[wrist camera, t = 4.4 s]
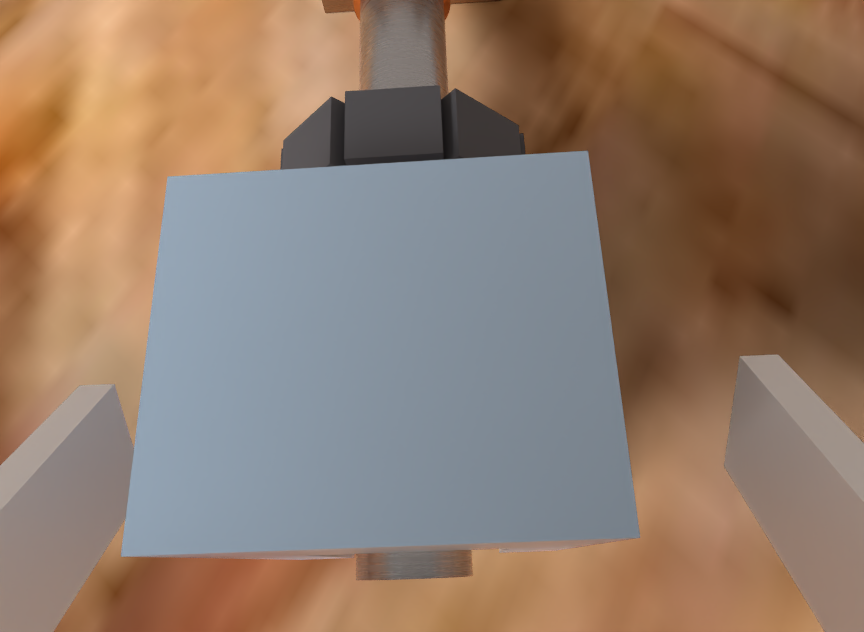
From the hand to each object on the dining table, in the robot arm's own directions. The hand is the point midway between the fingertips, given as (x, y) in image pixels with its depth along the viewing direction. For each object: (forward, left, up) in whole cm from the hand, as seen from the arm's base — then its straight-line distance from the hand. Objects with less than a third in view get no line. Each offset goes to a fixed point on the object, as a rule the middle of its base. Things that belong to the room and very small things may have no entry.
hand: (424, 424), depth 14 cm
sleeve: (-1, 0, -6) cm, 6 cm away
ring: (-5, +4, -4) cm, 8 cm away
